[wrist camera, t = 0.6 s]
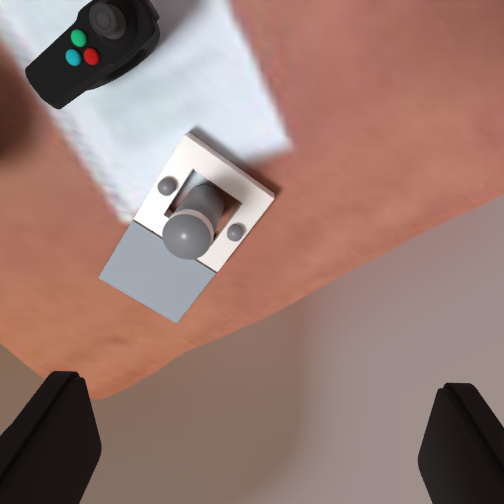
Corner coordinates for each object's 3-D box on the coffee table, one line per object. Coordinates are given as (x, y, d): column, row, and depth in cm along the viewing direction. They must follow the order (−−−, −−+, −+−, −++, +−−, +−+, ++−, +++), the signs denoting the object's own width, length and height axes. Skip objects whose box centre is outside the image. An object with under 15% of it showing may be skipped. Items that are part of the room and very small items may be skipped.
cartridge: (199, 176, 40) (177, 204, 31) (232, 199, 41) (220, 233, 32) (178, 207, 42) (152, 242, 33) (211, 229, 43) (194, 268, 34)
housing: (188, 131, 38) (182, 135, 36) (274, 193, 41) (274, 201, 38) (139, 213, 43) (131, 221, 40) (219, 264, 45) (216, 275, 43)
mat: (133, 219, 43) (132, 220, 43) (216, 272, 46) (215, 273, 45) (99, 276, 47) (98, 277, 47) (177, 322, 49) (176, 323, 49)
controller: (183, 39, 34) (151, 25, 25) (90, 109, 38) (32, 119, 29) (156, -7, 33) (111, -39, 24) (62, 70, 36) (-9, 68, 27)
